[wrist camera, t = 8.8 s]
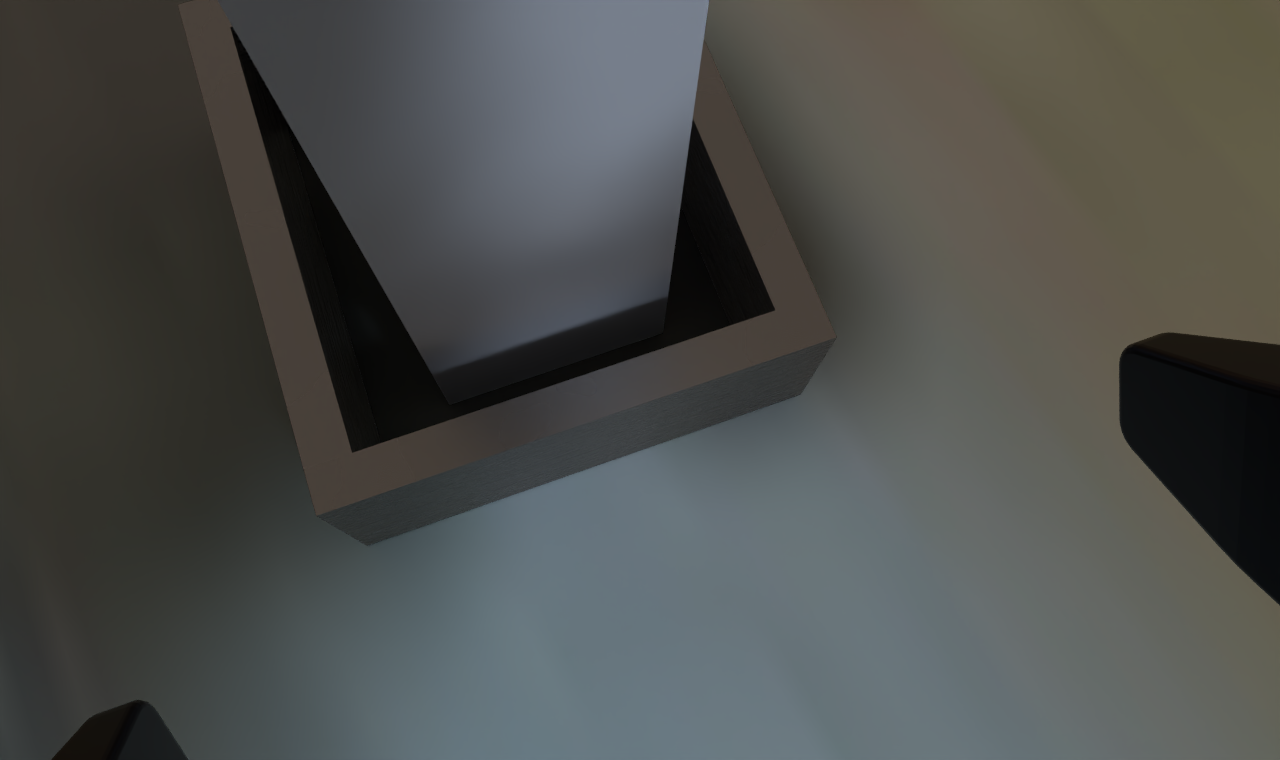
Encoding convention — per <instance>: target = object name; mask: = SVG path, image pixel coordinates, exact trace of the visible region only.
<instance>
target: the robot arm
mask: <svg viewBox="0 0 1280 760" xmlns="http://www.w3.org/2000/svg"><path fill="white" fill-rule="evenodd" d="M1119 411H1120V426H1121V430H1122V433H1123V435H1124V438H1125V440H1126V441H1127V443H1128V445H1129V446H1130V447H1131V449H1132V450H1133V451H1134V452H1135V453H1136V454H1137V455H1138V457H1139V458H1140V459H1141V460H1142V461H1143V462H1144V463H1145V464H1146V465H1147V467H1148V468H1149V469H1150V470H1151V471H1152V472H1153V473H1154V474H1155V476H1156V477H1157V478H1158V479H1159V480H1160V481H1161V482H1162V483H1163V485H1164V486H1165V487H1166V488H1167V489H1168V490H1169V491H1170V492H1171V493H1172V495H1173V496H1174V497H1175V498H1176V499H1177V500H1178V501H1179V502H1180V504H1181V505H1182V506H1183V507H1184V508H1185V509H1186V510H1187V511H1188V512H1189V514H1190V515H1191V516H1192V517H1193V518H1194V519H1195V520H1196V521H1197V523H1198V524H1199V525H1200V526H1201V527H1202V528H1203V529H1204V530H1205V531H1206V533H1207V534H1208V535H1209V536H1210V537H1211V538H1212V539H1213V540H1214V542H1215V543H1216V544H1217V545H1218V546H1219V547H1220V548H1221V549H1222V550H1223V551H1224V552H1225V553H1226V554H1227V555H1228V556H1229V558H1230V559H1231V560H1232V561H1233V562H1234V563H1235V564H1236V565H1237V566H1238V567H1239V568H1240V569H1241V570H1242V571H1243V572H1244V573H1245V574H1247V575H1248V576H1249V577H1250V578H1251V579H1252V580H1253V581H1254V582H1255V583H1256V584H1257V585H1258V586H1259V587H1260V588H1261V589H1262V590H1264V591H1265V592H1266V593H1267V594H1268V595H1269V596H1270V597H1271V598H1272V599H1273V600H1274V601H1276V602H1277V603H1278V604H1279V605H1280V345H1277V344H1268V343H1259V342H1250V341H1241V340H1233V339H1224V338H1215V337H1206V336H1198V335H1189V334H1180V333H1161V334H1158V335H1155V336H1153V337H1150V338H1147V339H1144V340H1141V341H1139V342H1136V343H1133V344H1130V345H1129V346H1127V347H1126V348H1125V349H1124V350H1123V352H1122V354H1121V357H1120V362H1119ZM52 760H188V758H187V757H186V755H185V754H184V752H183V751H182V749H181V748H180V746H179V745H178V743H177V741H176V740H175V738H174V737H173V735H172V734H171V732H170V731H169V729H168V728H167V726H166V725H165V723H164V721H163V720H162V718H161V717H160V715H159V714H158V712H157V711H156V710H155V708H154V707H153V706H152V705H150V704H149V703H148V702H145V701H141V700H135V701H132V702H129V703H126V704H124V705H121V706H118V707H115V708H112V709H109V710H107V711H104V712H101V713H98V714H96V715H94V716H92V717H91V718H89V719H88V720H87V721H86V722H85V723H84V724H83V725H82V726H81V727H80V729H79V730H78V731H77V732H76V733H75V734H74V735H73V736H72V737H71V738H70V740H69V741H68V742H67V743H66V744H65V745H64V746H63V747H62V748H61V750H60V751H59V752H58V753H57V754H56V755H55V756H54V757H53V758H52Z"/></svg>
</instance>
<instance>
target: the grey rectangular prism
mask: <svg viewBox="0 0 1280 760" xmlns="http://www.w3.org/2000/svg"><path fill="white" fill-rule="evenodd" d="M218 2H219V4H220V6H221V7H222V9H223V11H224V12H225V14H226V16H227V18H228V19H229V21H230V23H231V25H232V26H233V28H234V30H235V32H236V33H237V35H238V37H239V39H240V40H241V42H242V44H243V46H244V47H245V49H246V51H247V53H248V54H249V56H250V58H251V60H252V61H253V63H254V65H255V67H256V68H257V70H258V72H259V73H260V75H261V77H262V79H263V80H264V82H265V84H266V86H267V87H268V89H269V91H270V93H271V94H272V96H273V98H274V100H275V101H276V103H277V105H278V107H279V108H280V110H281V112H282V114H283V115H284V117H285V119H286V121H287V122H288V124H289V126H290V128H291V129H292V131H293V133H294V134H295V136H296V138H297V140H298V141H299V143H300V145H301V147H302V148H303V150H304V152H305V154H306V155H307V157H308V159H309V161H310V162H311V164H312V166H313V168H314V169H315V171H316V173H317V175H318V176H319V178H320V180H321V182H322V183H323V185H324V187H325V189H326V190H327V192H328V194H329V195H330V197H331V199H332V201H333V202H334V204H335V206H336V208H337V209H338V211H339V213H340V215H341V216H342V218H343V220H344V222H345V223H346V225H347V227H348V229H349V230H350V232H351V234H352V236H353V237H354V239H355V241H356V243H357V244H358V246H359V248H360V250H361V251H362V253H363V255H364V256H365V258H366V260H367V262H368V263H369V265H370V267H371V269H372V270H373V272H374V274H375V276H376V277H377V279H378V281H379V283H380V284H381V286H382V288H383V290H384V291H385V293H386V295H387V297H388V298H389V300H390V302H391V304H392V305H393V307H394V309H395V311H396V312H397V314H398V316H399V317H400V319H401V321H402V323H403V324H404V326H405V328H406V330H407V331H408V333H409V335H410V337H411V338H412V340H413V342H414V344H415V345H416V347H417V349H418V351H419V352H420V354H421V356H422V358H423V359H424V361H425V363H426V365H427V366H428V368H429V370H430V372H431V373H432V375H433V377H434V378H435V380H436V382H437V384H438V385H439V387H440V389H441V391H442V392H443V394H444V396H445V398H446V399H447V401H448V403H449V405H451V404H454V403H457V402H460V401H463V400H466V399H469V398H471V397H474V396H477V395H480V394H483V393H486V392H489V391H492V390H495V389H498V388H501V387H504V386H507V385H510V384H513V383H516V382H519V381H522V380H525V379H528V378H531V377H534V376H537V375H540V374H543V373H546V372H549V371H552V370H555V369H558V368H561V367H564V366H566V365H569V364H572V363H575V362H578V361H581V360H584V359H587V358H590V357H593V356H596V355H599V354H602V353H605V352H608V351H611V350H614V349H617V348H620V347H623V346H626V345H629V344H632V343H635V342H638V341H641V340H644V339H647V338H650V337H653V336H656V335H659V334H662V333H663V329H664V321H665V314H666V307H667V300H668V293H669V285H670V278H671V271H672V264H673V257H674V249H675V242H676V235H677V228H678V220H679V213H680V206H681V199H682V192H683V184H684V177H685V170H686V163H687V156H688V148H689V141H690V134H691V127H692V120H693V112H694V105H695V98H696V91H697V84H698V76H699V69H700V62H701V55H702V47H703V40H704V33H705V26H706V19H707V11H708V4H709V0H218Z"/></svg>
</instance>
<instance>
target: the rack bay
mask: <svg viewBox="0 0 1280 760" xmlns="http://www.w3.org/2000/svg"><path fill="white" fill-rule="evenodd" d="M178 7H179V11H180V15H181V18H182V22H183V26H184V30H185V33H186V37H187V41H188V44H189V48H190V52H191V55H192V59H193V63H194V66H195V70H196V74H197V78H198V81H199V85H200V89H201V92H202V96H203V100H204V103H205V107H206V111H207V114H208V118H209V122H210V126H211V129H212V133H213V137H214V140H215V144H216V148H217V151H218V155H219V159H220V162H221V166H222V170H223V174H224V177H225V181H226V185H227V188H228V192H229V196H230V199H231V203H232V207H233V210H234V214H235V218H236V222H237V225H238V229H239V233H240V236H241V240H242V244H243V247H244V251H245V255H246V258H247V262H248V266H249V270H250V273H251V277H252V281H253V284H254V288H255V292H256V295H257V299H258V303H259V307H260V310H261V314H262V318H263V321H264V325H265V329H266V332H267V336H268V340H269V343H270V347H271V351H272V355H273V358H274V362H275V366H276V369H277V373H278V377H279V380H280V384H281V388H282V391H283V395H284V399H285V403H286V406H287V410H288V414H289V417H290V421H291V425H292V428H293V432H294V436H295V439H296V443H297V447H298V451H299V454H300V458H301V462H302V465H303V469H304V473H305V476H306V480H307V484H308V487H309V491H310V495H311V499H312V502H313V506H314V510H315V513H316V516H317V517H319V518H321V519H322V520H324V521H326V522H328V523H329V524H331V525H333V526H334V527H336V528H338V529H339V530H341V531H343V532H345V533H346V534H348V535H350V536H351V537H353V538H355V539H356V540H358V541H360V542H362V543H363V544H365V545H367V546H368V545H371V544H374V543H377V542H379V541H382V540H385V539H388V538H391V537H394V536H397V535H399V534H402V533H405V532H408V531H411V530H414V529H417V528H419V527H422V526H425V525H428V524H431V523H434V522H437V521H440V520H442V519H445V518H448V517H451V516H454V515H457V514H460V513H462V512H465V511H468V510H471V509H474V508H477V507H480V506H482V505H485V504H488V503H491V502H494V501H497V500H500V499H502V498H505V497H508V496H511V495H514V494H517V493H520V492H523V491H525V490H528V489H531V488H534V487H537V486H540V485H543V484H545V483H548V482H551V481H554V480H557V479H560V478H563V477H565V476H568V475H571V474H574V473H577V472H580V471H583V470H586V469H588V468H591V467H594V466H597V465H600V464H603V463H606V462H608V461H611V460H614V459H617V458H620V457H623V456H626V455H628V454H631V453H634V452H637V451H640V450H643V449H646V448H648V447H651V446H654V445H657V444H660V443H663V442H666V441H669V440H671V439H674V438H677V437H680V436H683V435H686V434H689V433H691V432H694V431H697V430H700V429H703V428H706V427H709V426H711V425H714V424H717V423H720V422H723V421H726V420H729V419H731V418H734V417H737V416H740V415H743V414H746V413H749V412H752V411H754V410H757V409H760V408H763V407H766V406H769V405H772V404H774V403H777V402H780V401H783V400H786V399H789V398H792V397H794V396H797V395H800V394H801V393H802V391H803V390H804V388H805V387H806V385H807V383H808V382H809V380H810V379H811V377H812V375H813V374H814V372H815V371H816V369H817V368H818V366H819V364H820V363H821V361H822V360H823V358H824V357H825V355H826V353H827V352H828V350H829V349H830V347H831V345H832V344H833V342H834V341H835V339H836V338H837V337H836V334H835V332H834V330H833V328H832V325H831V323H830V321H829V319H828V316H827V314H826V312H825V310H824V307H823V305H822V303H821V301H820V298H819V296H818V294H817V292H816V289H815V287H814V285H813V283H812V280H811V278H810V276H809V274H808V271H807V269H806V267H805V265H804V262H803V260H802V258H801V256H800V253H799V251H798V249H797V247H796V245H795V242H794V240H793V238H792V236H791V233H790V231H789V229H788V227H787V224H786V222H785V220H784V218H783V215H782V213H781V211H780V209H779V206H778V204H777V202H776V200H775V197H774V195H773V193H772V191H771V188H770V186H769V184H768V182H767V179H766V177H765V175H764V173H763V170H762V168H761V166H760V164H759V161H758V159H757V157H756V155H755V152H754V150H753V148H752V146H751V143H750V141H749V139H748V137H747V135H746V132H745V130H744V128H743V126H742V123H741V121H740V119H739V117H738V114H737V112H736V110H735V108H734V105H733V103H732V101H731V99H730V96H729V94H728V92H727V90H726V87H725V85H724V83H723V81H722V78H721V76H720V74H719V72H718V69H717V67H716V65H715V63H714V60H713V58H712V56H711V54H710V51H709V49H708V47H707V45H706V42H705V40H703V47H702V55H701V62H700V69H699V76H698V84H697V91H696V98H695V105H694V112H693V120H692V127H691V134H690V141H689V148H688V156H687V163H686V170H685V177H684V184H683V192H682V199H681V208H682V210H683V213H684V215H685V217H686V220H687V222H688V225H689V227H690V230H691V232H692V234H693V237H694V239H695V242H696V244H697V246H698V249H699V251H700V254H701V256H702V258H703V261H704V263H705V266H706V268H707V271H708V273H709V275H710V278H711V280H712V283H713V285H714V287H715V290H716V292H717V295H718V297H719V300H720V302H721V304H722V307H723V309H724V312H725V314H726V316H727V319H728V321H729V324H730V326H727V327H725V328H722V329H719V330H716V331H713V332H710V333H707V334H704V335H701V336H698V337H695V338H692V339H689V340H686V341H683V342H680V343H677V344H674V345H671V346H668V347H665V348H662V349H659V350H656V351H653V352H650V353H647V354H644V355H641V356H638V357H635V358H632V359H629V360H627V361H624V362H621V363H618V364H615V365H612V366H609V367H606V368H603V369H600V370H597V371H594V372H591V373H588V374H585V375H582V376H579V377H576V378H573V379H570V380H567V381H564V382H561V383H558V384H555V385H552V386H549V387H546V388H543V389H540V390H537V391H534V392H531V393H529V394H526V395H523V396H520V397H517V398H514V399H511V400H508V401H505V402H502V403H499V404H496V405H493V406H490V407H487V408H484V409H481V410H478V411H475V412H472V413H469V414H466V415H463V416H460V417H457V418H454V419H451V420H448V421H445V422H442V423H439V424H436V425H433V426H430V427H428V428H425V429H422V430H419V431H416V432H413V433H410V434H407V435H404V436H401V437H398V438H395V439H392V440H389V441H386V442H383V443H381V440H380V437H379V433H378V430H377V426H376V423H375V420H374V416H373V413H372V410H371V406H370V403H369V399H368V396H367V393H366V389H365V386H364V383H363V379H362V376H361V372H360V369H359V366H358V362H357V359H356V356H355V352H354V349H353V345H352V342H351V339H350V335H349V332H348V329H347V325H346V322H345V318H344V315H343V312H342V308H341V305H340V301H339V298H338V295H337V291H336V288H335V285H334V281H333V278H332V274H331V271H330V268H329V264H328V261H327V258H326V254H325V251H324V247H323V244H322V241H321V237H320V234H319V231H318V227H317V224H316V220H315V217H314V214H313V210H312V207H311V204H310V200H309V197H308V193H307V190H306V187H305V183H304V180H303V176H302V173H301V170H300V166H299V163H298V160H297V156H296V153H295V149H294V146H293V143H292V139H291V136H290V133H289V129H288V127H290V126H289V124H288V122H287V121H286V119H285V117H284V115H283V114H282V112H281V110H280V108H279V107H278V105H277V103H276V101H275V100H274V98H273V96H272V94H271V93H270V91H269V89H268V87H267V86H266V84H265V82H264V80H263V79H262V77H261V75H260V73H259V72H258V70H257V68H256V67H255V65H254V63H253V61H252V60H251V58H250V56H249V54H248V53H247V51H246V49H245V47H244V46H243V44H242V42H241V40H240V39H239V37H238V35H237V33H236V32H235V30H234V28H233V26H232V25H231V23H230V21H229V19H228V18H227V16H226V14H225V12H224V11H223V9H222V7H221V6H220V4H219V2H218V0H193V1H189V2H185V3H182V4H178Z"/></svg>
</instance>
